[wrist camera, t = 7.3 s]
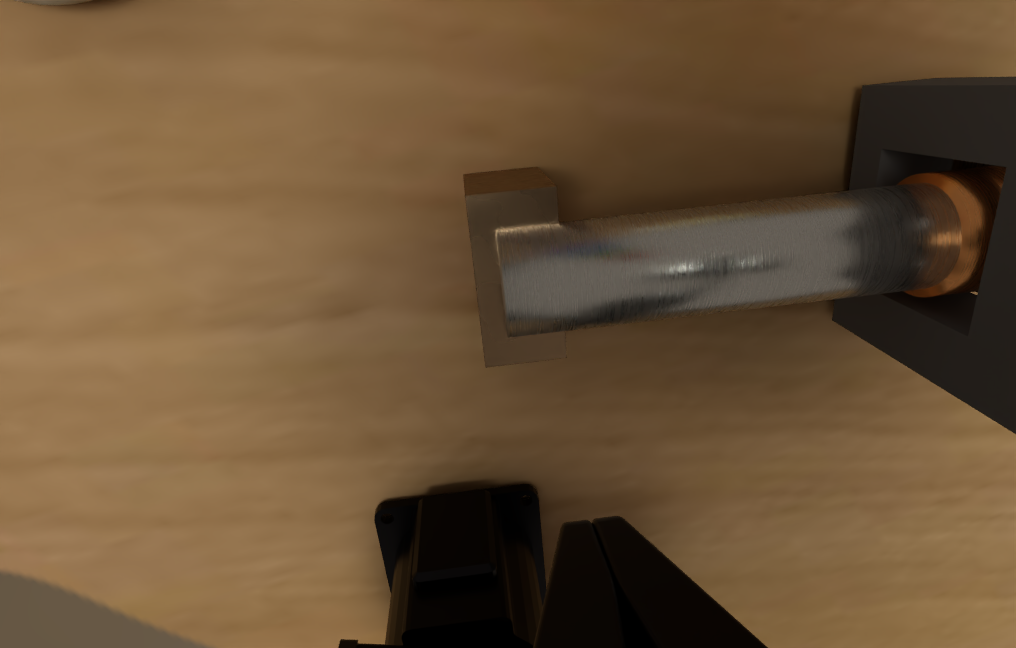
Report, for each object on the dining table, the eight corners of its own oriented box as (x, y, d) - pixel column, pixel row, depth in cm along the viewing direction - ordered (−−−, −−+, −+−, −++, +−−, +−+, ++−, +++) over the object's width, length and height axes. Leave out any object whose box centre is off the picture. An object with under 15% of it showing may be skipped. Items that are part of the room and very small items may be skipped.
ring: (832, 320, 22) (1049, 454, 14) (862, 85, 18) (1164, 84, 11) (895, 312, 22) (1146, 441, 14) (935, 78, 19) (1289, 71, 11)
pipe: (480, 317, 21) (489, 396, 16) (463, 174, 19) (466, 209, 14) (976, 260, 22) (1146, 316, 16) (1008, 117, 20) (1212, 128, 14)
